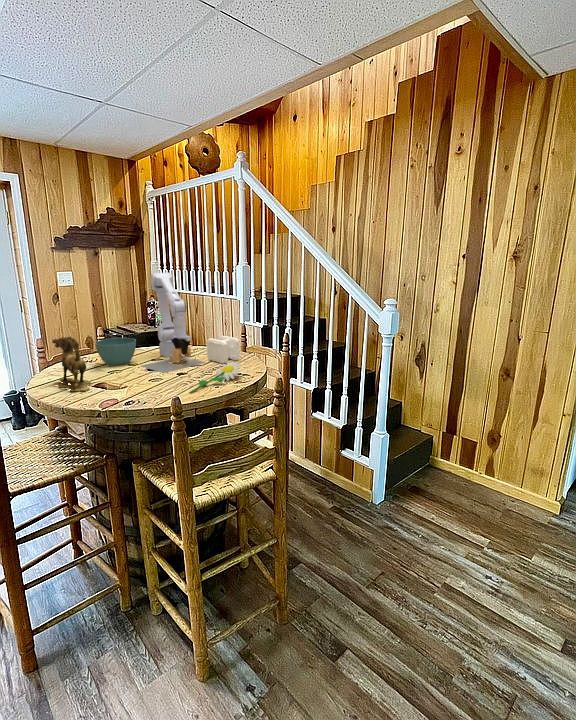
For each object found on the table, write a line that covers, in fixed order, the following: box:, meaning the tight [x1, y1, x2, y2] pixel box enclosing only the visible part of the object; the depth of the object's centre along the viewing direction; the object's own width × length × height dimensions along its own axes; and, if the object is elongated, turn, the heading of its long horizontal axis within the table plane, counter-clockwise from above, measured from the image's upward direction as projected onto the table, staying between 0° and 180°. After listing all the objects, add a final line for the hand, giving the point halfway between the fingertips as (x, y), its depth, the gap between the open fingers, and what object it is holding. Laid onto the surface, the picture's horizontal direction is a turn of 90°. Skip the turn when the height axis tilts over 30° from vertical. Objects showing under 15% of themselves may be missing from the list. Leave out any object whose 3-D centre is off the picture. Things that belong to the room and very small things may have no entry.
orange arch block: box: [172, 346, 192, 364], centre depth 199 cm, size 4×8×6 cm, turn 139°
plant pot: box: [94, 337, 137, 367], centre depth 199 cm, size 18×18×12 cm
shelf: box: [140, 354, 207, 374], centre depth 196 cm, size 20×24×5 cm
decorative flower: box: [188, 360, 242, 394], centre depth 171 cm, size 13×5×30 cm
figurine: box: [51, 336, 92, 393], centre depth 167 cm, size 13×25×20 cm, turn 42°
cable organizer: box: [206, 335, 240, 365], centre depth 207 cm, size 15×11×12 cm
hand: (181, 353), depth 199 cm, fingers closed on orange arch block, 4 cm apart
